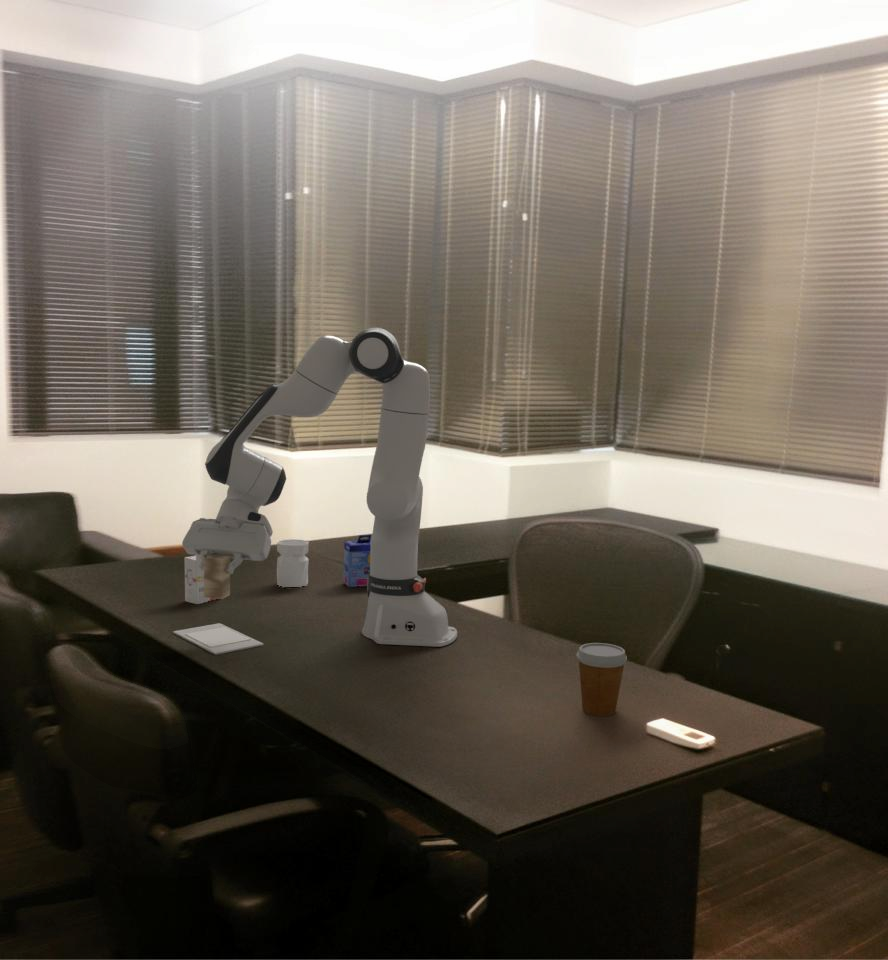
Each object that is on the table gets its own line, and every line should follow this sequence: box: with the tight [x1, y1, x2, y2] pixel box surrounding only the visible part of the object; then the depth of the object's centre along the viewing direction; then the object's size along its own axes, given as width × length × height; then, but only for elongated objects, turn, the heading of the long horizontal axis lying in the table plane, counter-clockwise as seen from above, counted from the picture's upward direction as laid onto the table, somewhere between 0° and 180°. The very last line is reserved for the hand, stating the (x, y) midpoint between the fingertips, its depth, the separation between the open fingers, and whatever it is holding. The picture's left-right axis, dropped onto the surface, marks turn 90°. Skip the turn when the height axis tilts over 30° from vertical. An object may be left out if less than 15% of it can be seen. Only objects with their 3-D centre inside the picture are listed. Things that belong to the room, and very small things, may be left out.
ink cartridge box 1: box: [183, 555, 218, 605], centre depth 265 cm, size 9×5×15 cm, turn 143°
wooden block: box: [204, 554, 232, 600], centre depth 230 cm, size 4×4×9 cm
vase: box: [276, 538, 310, 588], centre depth 284 cm, size 9×9×12 cm
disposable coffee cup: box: [576, 642, 628, 717], centre depth 194 cm, size 10×10×12 cm
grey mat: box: [172, 622, 264, 656], centre depth 232 cm, size 20×12×1 cm, turn 41°
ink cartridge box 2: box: [342, 534, 372, 588], centre depth 287 cm, size 10×6×14 cm, turn 115°
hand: (216, 571), depth 230 cm, fingers closed on wooden block, 4 cm apart
